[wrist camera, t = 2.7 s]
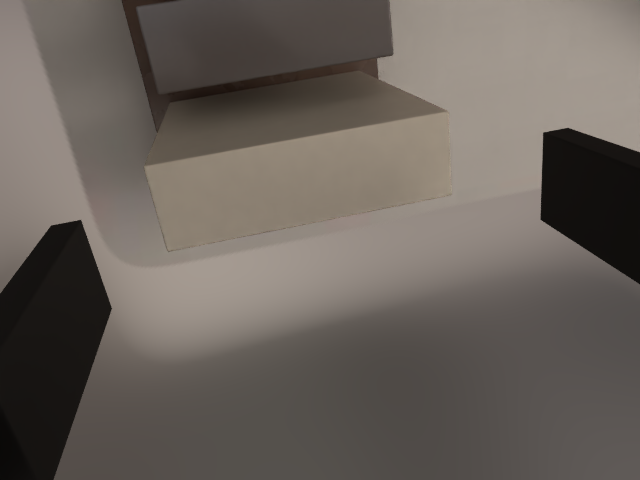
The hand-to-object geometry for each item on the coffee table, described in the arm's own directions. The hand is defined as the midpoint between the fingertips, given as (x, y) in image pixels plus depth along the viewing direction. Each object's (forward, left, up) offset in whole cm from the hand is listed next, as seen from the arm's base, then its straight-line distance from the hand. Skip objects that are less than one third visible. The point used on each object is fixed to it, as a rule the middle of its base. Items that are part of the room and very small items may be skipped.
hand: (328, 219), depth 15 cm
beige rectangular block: (0, 0, -15) cm, 15 cm away
